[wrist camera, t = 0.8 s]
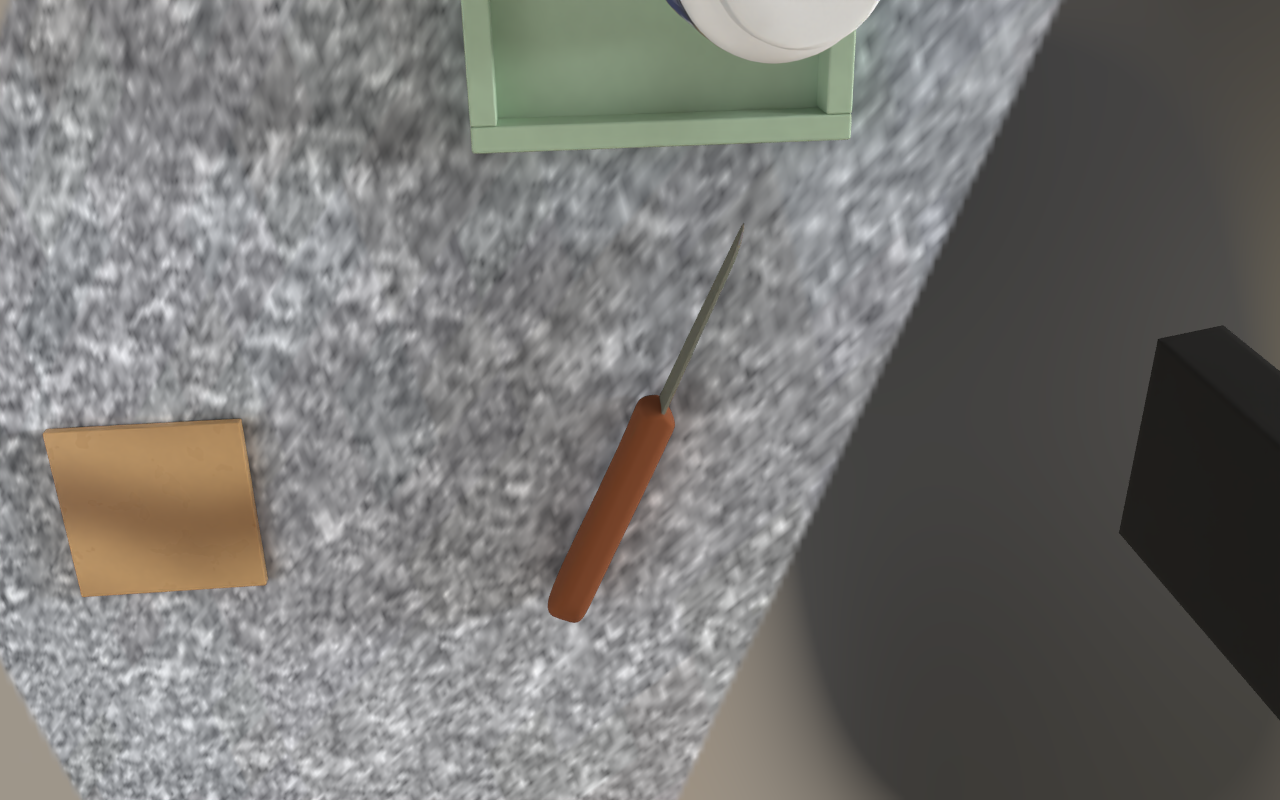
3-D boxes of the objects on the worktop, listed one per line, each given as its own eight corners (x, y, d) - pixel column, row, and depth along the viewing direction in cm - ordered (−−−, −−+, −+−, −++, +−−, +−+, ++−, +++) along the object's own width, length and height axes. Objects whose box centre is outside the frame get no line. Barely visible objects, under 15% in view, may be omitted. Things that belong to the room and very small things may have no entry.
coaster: (46, 428, 40) (41, 433, 40) (241, 417, 41) (239, 422, 40) (85, 591, 43) (81, 597, 42) (268, 579, 43) (266, 585, 43)
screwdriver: (577, 604, 45) (580, 635, 43) (543, 594, 44) (545, 624, 43) (758, 223, 40) (769, 240, 38) (720, 208, 39) (730, 224, 37)
